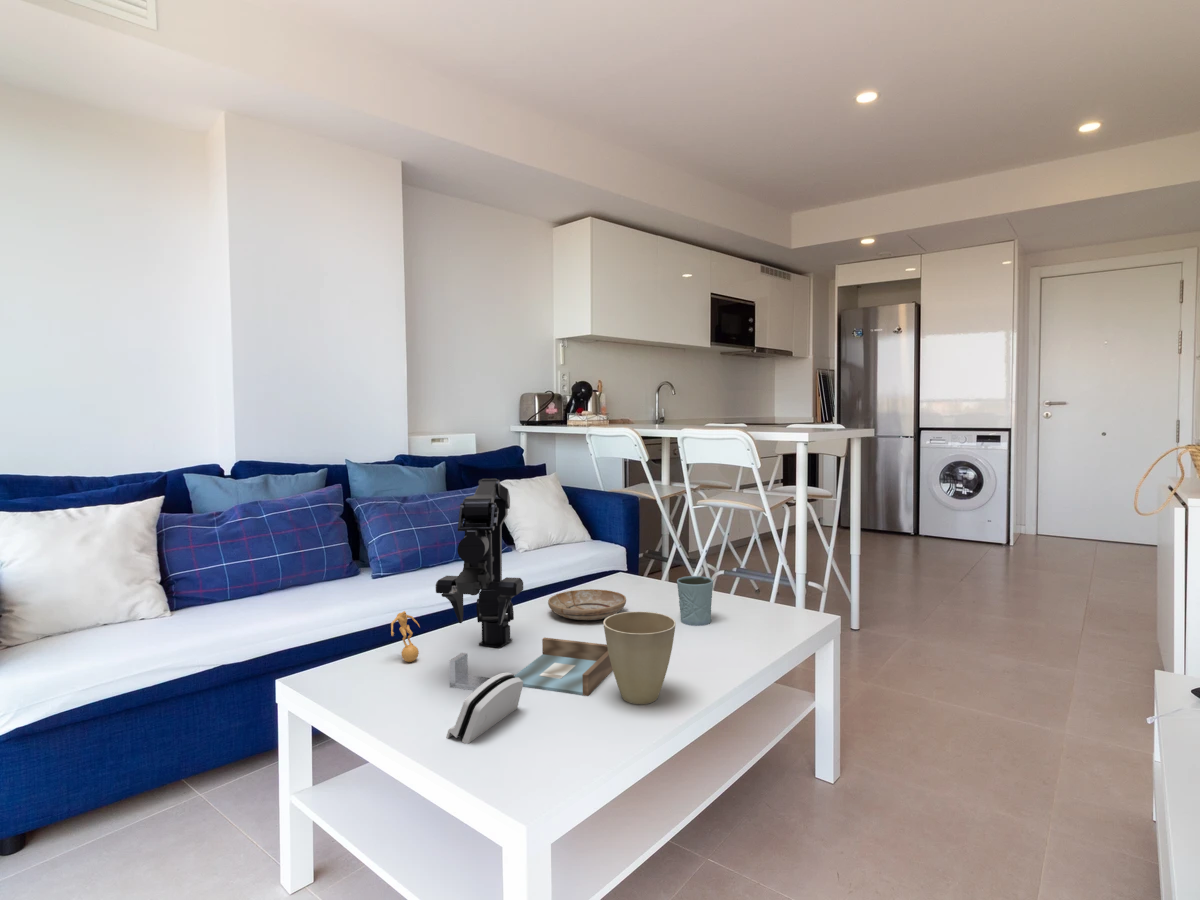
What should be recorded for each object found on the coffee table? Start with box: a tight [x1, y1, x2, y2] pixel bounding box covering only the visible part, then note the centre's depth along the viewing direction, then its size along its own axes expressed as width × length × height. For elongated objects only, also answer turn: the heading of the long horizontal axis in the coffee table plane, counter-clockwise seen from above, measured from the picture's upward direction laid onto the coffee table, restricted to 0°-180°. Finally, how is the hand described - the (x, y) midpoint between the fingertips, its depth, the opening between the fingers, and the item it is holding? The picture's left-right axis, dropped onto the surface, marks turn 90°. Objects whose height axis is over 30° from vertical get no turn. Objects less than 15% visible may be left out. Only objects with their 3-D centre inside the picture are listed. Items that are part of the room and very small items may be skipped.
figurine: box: [390, 610, 421, 663], centre depth 160 cm, size 8×6×12 cm
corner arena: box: [514, 636, 613, 697], centre depth 151 cm, size 19×19×4 cm
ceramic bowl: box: [547, 588, 627, 621], centre depth 198 cm, size 23×24×5 cm
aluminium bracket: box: [448, 652, 491, 692], centre depth 145 cm, size 8×5×6 cm, turn 69°
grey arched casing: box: [446, 671, 523, 745], centre depth 126 cm, size 17×5×10 cm, turn 154°
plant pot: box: [602, 611, 677, 705], centre depth 137 cm, size 15×15×16 cm
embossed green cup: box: [676, 575, 714, 627], centre depth 189 cm, size 10×10×12 cm
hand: (480, 623), depth 148 cm, fingers open, 9 cm apart
